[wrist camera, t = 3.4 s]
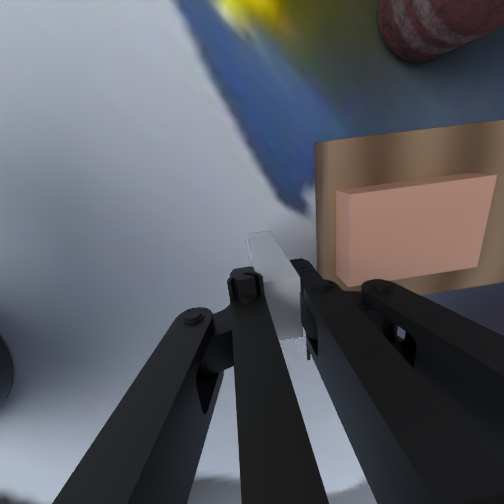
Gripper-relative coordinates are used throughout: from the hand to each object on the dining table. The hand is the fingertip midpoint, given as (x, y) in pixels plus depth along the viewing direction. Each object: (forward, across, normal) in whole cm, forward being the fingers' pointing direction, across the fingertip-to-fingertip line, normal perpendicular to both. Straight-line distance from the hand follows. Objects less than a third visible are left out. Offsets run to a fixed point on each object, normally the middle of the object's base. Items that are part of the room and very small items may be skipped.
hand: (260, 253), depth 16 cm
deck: (+4, +14, 0) cm, 14 cm away
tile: (+1, +10, 0) cm, 10 cm away
